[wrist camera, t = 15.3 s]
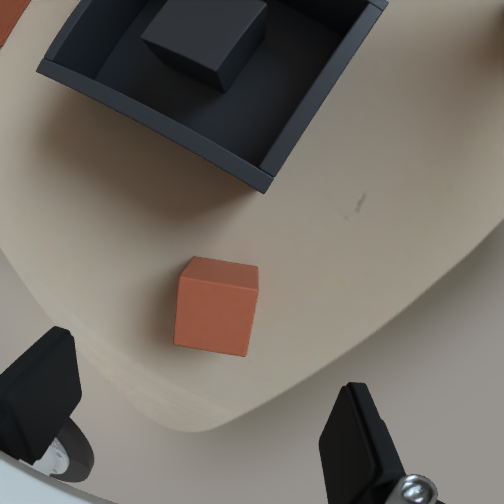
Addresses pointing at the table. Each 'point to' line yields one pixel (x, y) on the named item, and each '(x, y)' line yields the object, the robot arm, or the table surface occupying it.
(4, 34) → the terracotta bin
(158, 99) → the charcoal bin
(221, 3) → the charcoal block
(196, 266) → the terracotta block
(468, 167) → the table surface
